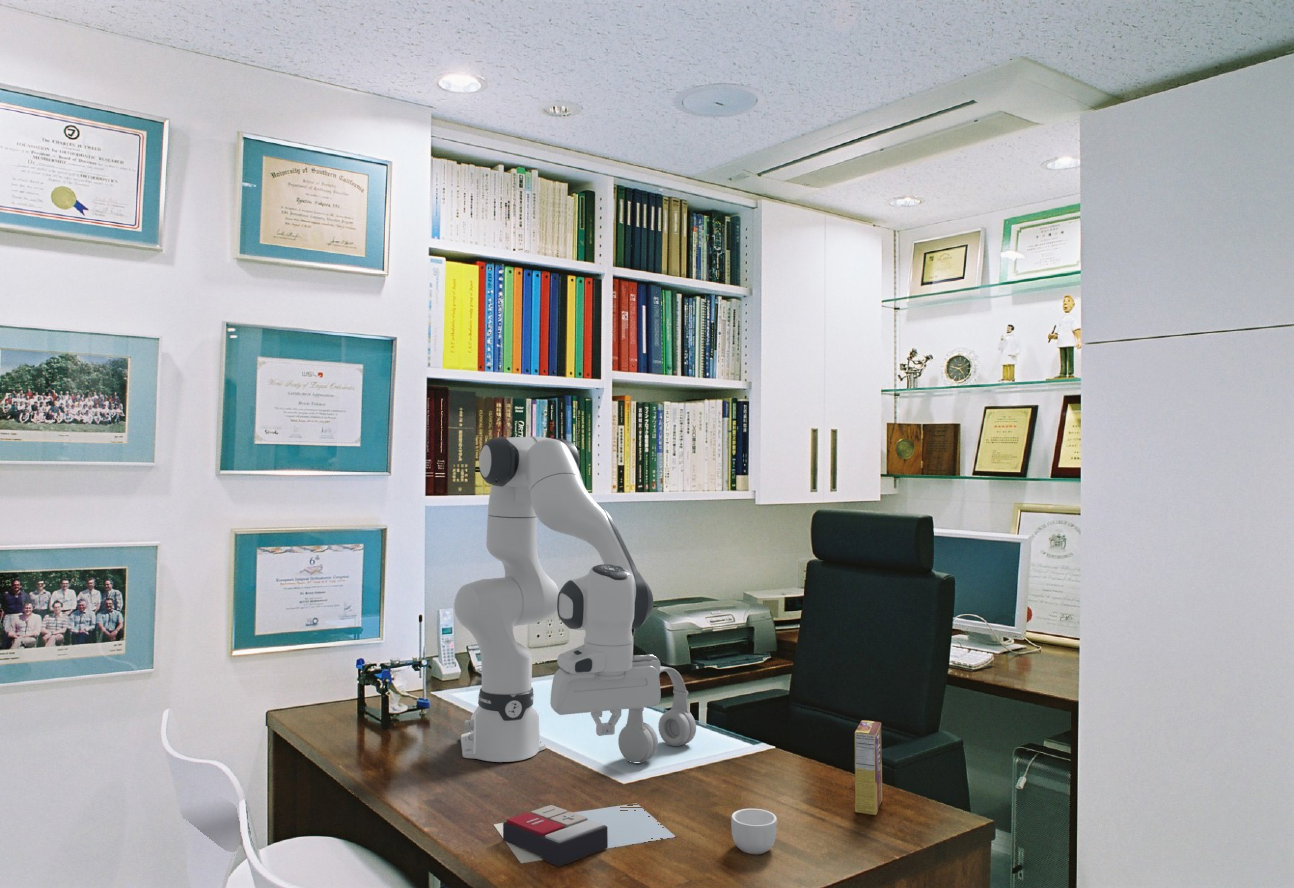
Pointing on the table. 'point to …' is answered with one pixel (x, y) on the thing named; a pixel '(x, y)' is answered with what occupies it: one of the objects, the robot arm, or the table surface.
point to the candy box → (868, 767)
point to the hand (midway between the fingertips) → (605, 734)
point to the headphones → (673, 725)
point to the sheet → (611, 829)
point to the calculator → (556, 834)
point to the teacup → (754, 830)
